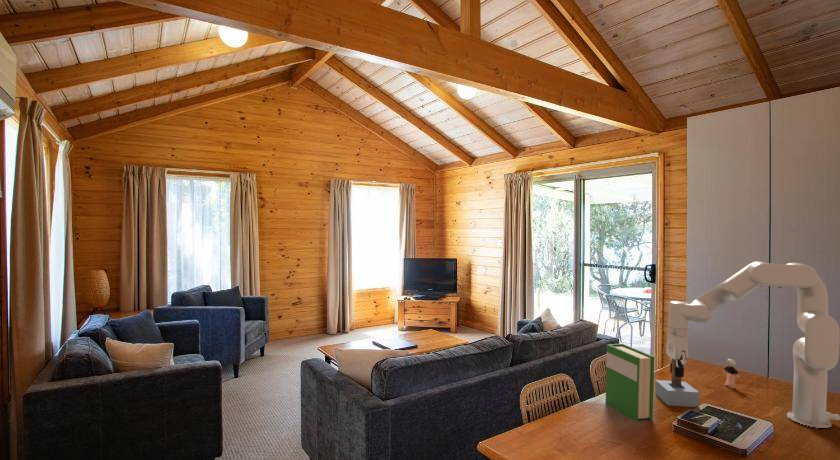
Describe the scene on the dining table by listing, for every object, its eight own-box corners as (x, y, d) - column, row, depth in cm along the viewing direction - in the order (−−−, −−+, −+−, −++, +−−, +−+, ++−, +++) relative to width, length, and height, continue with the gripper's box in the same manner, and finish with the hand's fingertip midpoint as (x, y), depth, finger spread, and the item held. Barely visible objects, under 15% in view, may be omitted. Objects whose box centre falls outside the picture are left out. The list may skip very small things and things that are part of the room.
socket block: (684, 395, 192) (685, 381, 191) (698, 407, 180) (699, 392, 180) (655, 393, 193) (655, 380, 193) (667, 405, 181) (667, 390, 181)
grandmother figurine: (719, 384, 205) (719, 357, 205) (724, 383, 207) (725, 356, 207) (736, 390, 198) (737, 362, 198) (742, 389, 200) (743, 361, 200)
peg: (678, 383, 188) (679, 354, 187) (682, 386, 184) (683, 357, 184) (669, 382, 188) (670, 354, 188) (673, 385, 185) (674, 357, 184)
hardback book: (652, 420, 167) (654, 356, 167) (635, 421, 166) (637, 357, 165) (621, 401, 184) (622, 343, 184) (605, 402, 183) (606, 344, 182)
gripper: (660, 326, 194) (658, 367, 195) (677, 335, 178) (676, 381, 178) (678, 326, 193) (677, 368, 194) (697, 336, 177) (696, 382, 177)
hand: (676, 374), depth 186 cm, fingers closed on peg, 3 cm apart
